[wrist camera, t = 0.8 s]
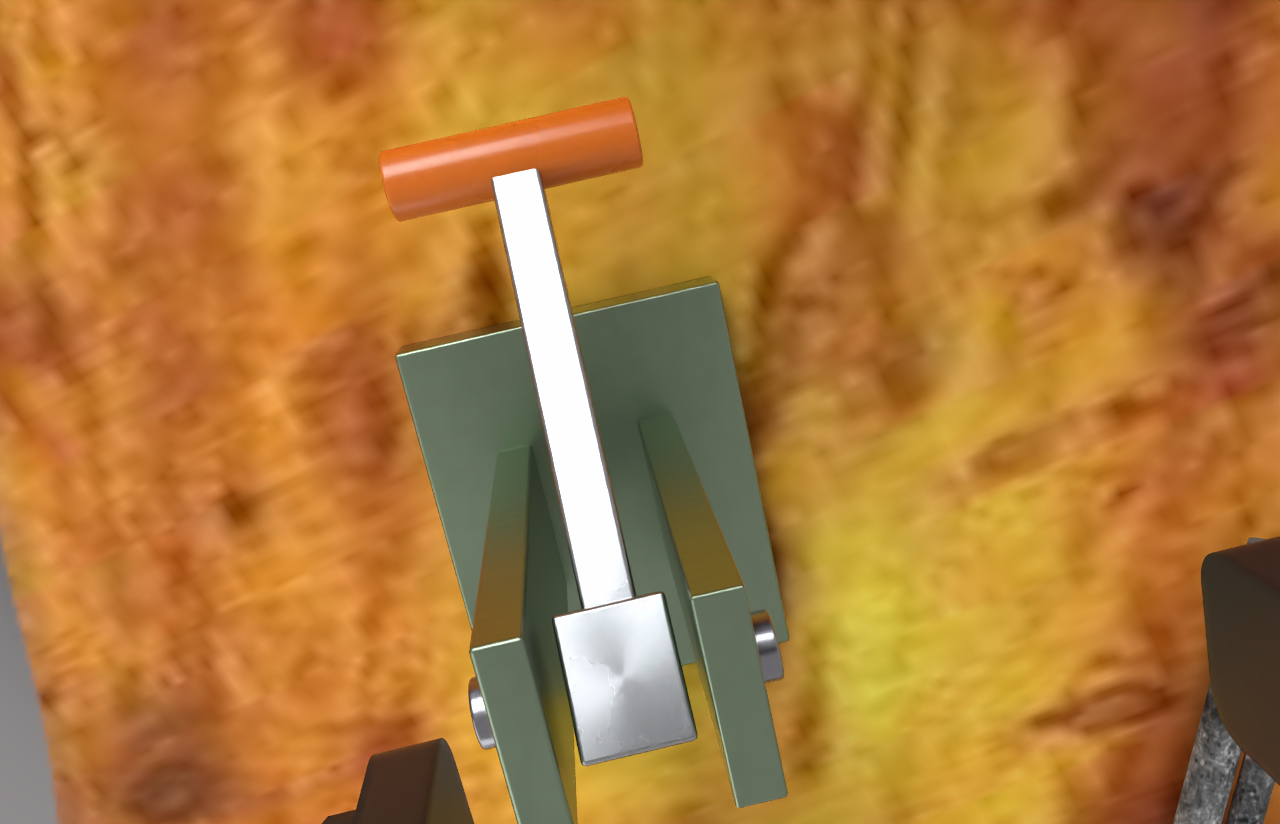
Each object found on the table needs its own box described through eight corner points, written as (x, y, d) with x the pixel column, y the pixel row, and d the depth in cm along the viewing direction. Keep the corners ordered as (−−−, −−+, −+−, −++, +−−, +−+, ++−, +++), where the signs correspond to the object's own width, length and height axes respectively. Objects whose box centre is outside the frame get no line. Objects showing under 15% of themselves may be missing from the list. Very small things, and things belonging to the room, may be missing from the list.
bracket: (399, 346, 32) (300, 502, 19) (712, 274, 32) (823, 381, 19) (495, 691, 35) (466, 1028, 22) (782, 623, 35) (918, 918, 22)
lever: (396, 180, 27) (368, 129, 24) (630, 127, 27) (625, 71, 24) (509, 781, 23) (490, 788, 21) (778, 717, 23) (789, 718, 21)
